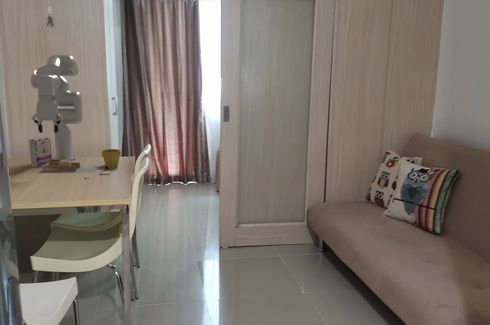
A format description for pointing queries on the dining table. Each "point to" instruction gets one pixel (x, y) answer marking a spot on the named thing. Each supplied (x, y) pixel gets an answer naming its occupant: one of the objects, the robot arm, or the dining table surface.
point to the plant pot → (111, 157)
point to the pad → (105, 173)
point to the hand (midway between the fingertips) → (48, 132)
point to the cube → (65, 163)
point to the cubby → (59, 167)
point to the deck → (78, 170)
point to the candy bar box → (40, 152)
